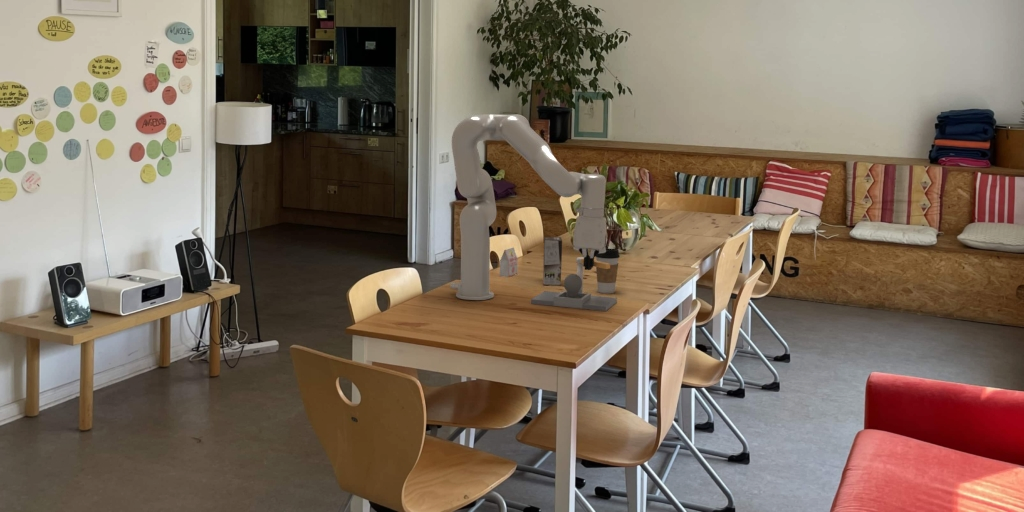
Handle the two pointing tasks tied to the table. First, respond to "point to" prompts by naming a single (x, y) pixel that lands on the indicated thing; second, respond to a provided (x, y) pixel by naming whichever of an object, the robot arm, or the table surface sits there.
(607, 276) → the coffee cup
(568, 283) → the light bulb
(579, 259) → the long wooden bar
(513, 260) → the red and white carton
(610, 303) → the plate with square opening
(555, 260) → the coffee box
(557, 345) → the table surface
